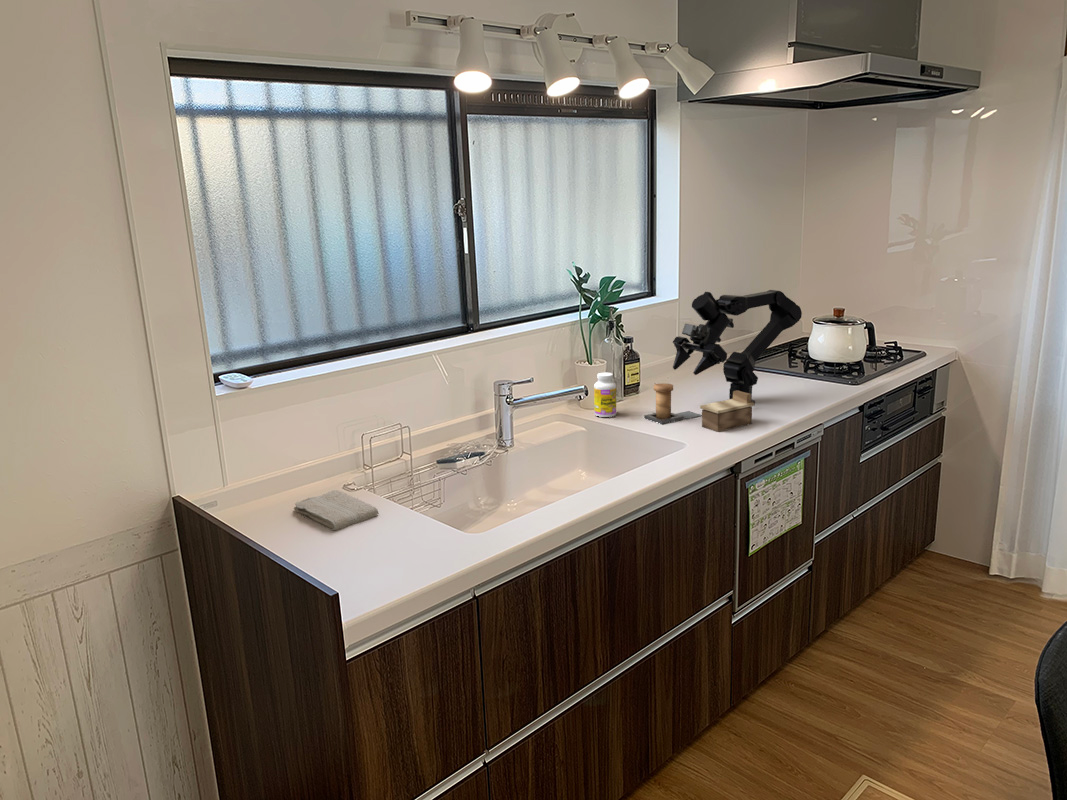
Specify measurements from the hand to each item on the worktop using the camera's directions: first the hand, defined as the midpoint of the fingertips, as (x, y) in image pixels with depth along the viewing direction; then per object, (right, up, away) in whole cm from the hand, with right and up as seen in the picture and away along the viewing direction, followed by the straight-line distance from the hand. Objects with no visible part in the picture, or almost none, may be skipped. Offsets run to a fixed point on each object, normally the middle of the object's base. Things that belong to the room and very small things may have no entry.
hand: (684, 371), depth 246 cm
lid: (+10, -10, -10) cm, 18 cm away
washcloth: (-88, -34, -62) cm, 113 cm away
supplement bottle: (-23, -13, +6) cm, 27 cm away
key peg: (-6, -14, 0) cm, 15 cm away
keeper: (-6, -14, 0) cm, 15 cm away
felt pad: (+1, -13, +2) cm, 13 cm away
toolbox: (+11, -16, -9) cm, 21 cm away
